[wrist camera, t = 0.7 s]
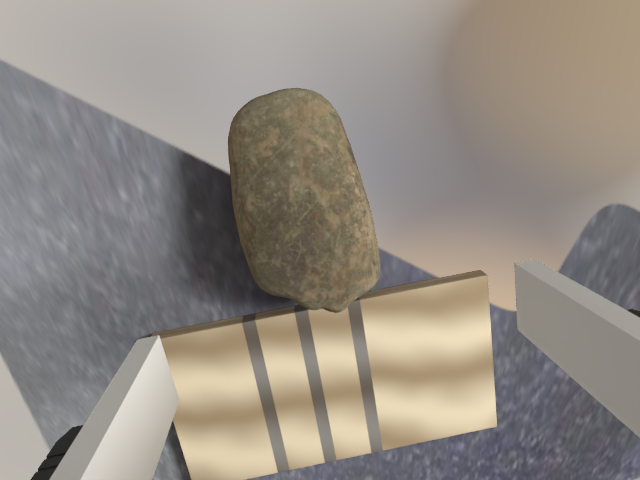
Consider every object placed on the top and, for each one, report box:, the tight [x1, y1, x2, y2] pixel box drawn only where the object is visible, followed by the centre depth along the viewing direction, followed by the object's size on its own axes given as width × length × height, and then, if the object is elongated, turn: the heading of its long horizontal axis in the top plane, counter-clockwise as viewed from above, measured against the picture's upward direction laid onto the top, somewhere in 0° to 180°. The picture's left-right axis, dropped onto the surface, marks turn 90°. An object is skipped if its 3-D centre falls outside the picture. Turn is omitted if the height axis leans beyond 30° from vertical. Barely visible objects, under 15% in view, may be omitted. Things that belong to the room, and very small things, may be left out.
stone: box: [228, 88, 380, 313], centre depth 29 cm, size 9×14×10 cm, turn 11°
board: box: [151, 270, 497, 480], centre depth 35 cm, size 14×26×1 cm, turn 100°
